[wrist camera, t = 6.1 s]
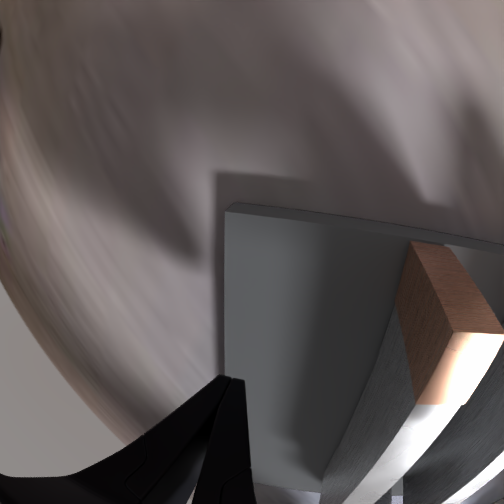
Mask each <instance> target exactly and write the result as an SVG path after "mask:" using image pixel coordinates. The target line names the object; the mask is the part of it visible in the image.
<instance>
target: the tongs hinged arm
mask: <svg viewBox="0 0 504 504" xmlns="http://www.w3.org/2000/svg"><path fill="white" fill-rule="evenodd" d="M394 301H395V306H394V310H393V313H392V316H391V319H390V322H389V325H388V328H387V331H386V334H385V337H384V340H383V342H382V345H381V348H380V351H379V353H378V356H377V359H376V361H375V364H374V367H373V369H372V372H371V374H370V377H369V379H368V382H367V384H366V386H365V389H364V391H363V394H362V396H361V398H360V401H359V403H358V405H357V407H356V410H355V412H354V414H353V416H352V418H351V420H350V423H349V425H348V427H347V429H346V431H345V433H344V435H343V437H342V439H341V441H340V443H339V445H338V447H337V449H336V451H335V453H334V455H333V457H332V459H331V460H330V462H329V464H328V466H327V468H326V470H325V471H324V475H323V482H322V489H321V495H320V501H319V504H391V501H392V486H393V485H394V484H395V483H396V482H397V481H398V480H399V479H400V478H401V477H402V476H403V475H404V474H405V473H406V472H407V471H408V470H409V468H410V467H411V466H412V465H413V464H414V463H415V462H416V461H417V460H418V459H419V457H420V456H421V455H422V454H423V453H424V452H425V451H426V449H427V448H428V447H429V446H430V445H431V443H432V442H433V441H434V440H435V439H436V437H437V436H438V435H439V434H440V432H441V431H442V430H443V428H444V427H445V426H446V425H447V423H448V422H449V421H450V419H451V418H452V417H453V415H454V414H455V412H456V411H457V410H458V408H459V407H460V405H461V404H465V403H466V401H467V400H468V399H469V397H470V396H471V394H472V393H473V391H474V390H475V388H476V387H477V385H478V383H479V382H480V380H481V379H482V377H483V376H484V374H485V372H486V371H487V369H488V367H489V366H490V364H491V362H492V360H493V359H494V357H495V355H496V353H497V352H498V350H499V348H500V346H501V344H502V342H503V340H504V330H503V328H502V326H501V324H500V323H499V321H498V319H497V318H496V316H495V314H494V313H493V311H492V309H491V308H490V306H489V305H488V303H487V301H486V300H485V298H484V297H483V295H482V293H481V292H480V290H479V289H478V287H477V286H476V284H475V283H474V281H473V280H472V278H471V277H470V275H469V274H468V273H467V271H466V270H465V268H464V267H463V265H462V264H461V263H460V261H459V260H458V258H457V257H456V256H455V254H454V253H453V252H452V250H451V249H450V248H449V247H446V246H440V245H434V244H427V243H421V242H414V241H410V243H409V247H408V252H407V256H406V260H405V264H404V268H403V271H402V275H401V279H400V282H399V286H398V289H397V293H396V296H395V300H394Z"/></svg>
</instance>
